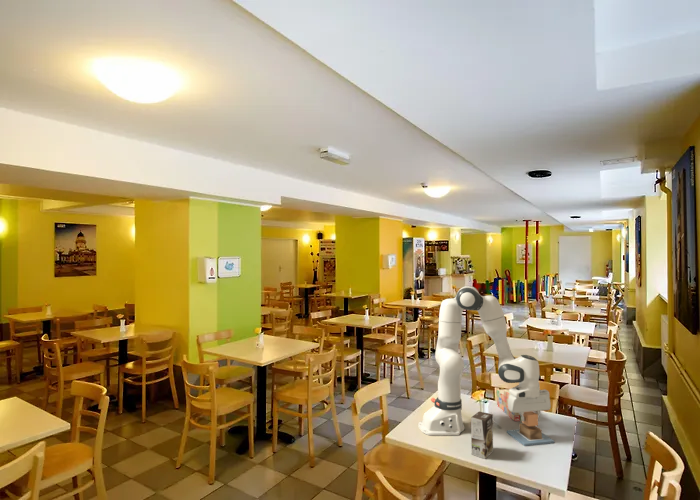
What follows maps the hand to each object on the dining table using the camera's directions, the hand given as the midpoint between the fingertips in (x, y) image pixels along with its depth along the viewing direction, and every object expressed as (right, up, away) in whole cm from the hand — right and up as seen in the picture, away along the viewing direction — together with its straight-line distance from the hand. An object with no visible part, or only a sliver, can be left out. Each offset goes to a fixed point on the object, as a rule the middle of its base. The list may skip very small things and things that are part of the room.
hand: (529, 420), depth 188 cm
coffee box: (-27, -8, -14) cm, 31 cm away
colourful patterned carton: (+3, -9, +29) cm, 31 cm away
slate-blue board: (0, -8, 0) cm, 8 cm away
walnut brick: (0, -7, 0) cm, 7 cm away
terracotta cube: (0, -2, 0) cm, 2 cm away
